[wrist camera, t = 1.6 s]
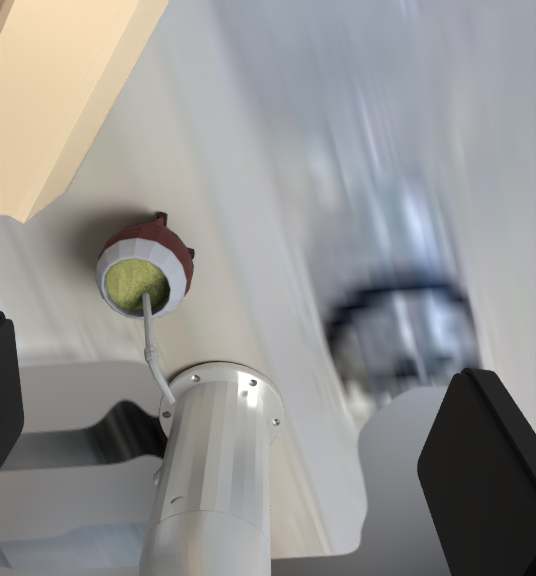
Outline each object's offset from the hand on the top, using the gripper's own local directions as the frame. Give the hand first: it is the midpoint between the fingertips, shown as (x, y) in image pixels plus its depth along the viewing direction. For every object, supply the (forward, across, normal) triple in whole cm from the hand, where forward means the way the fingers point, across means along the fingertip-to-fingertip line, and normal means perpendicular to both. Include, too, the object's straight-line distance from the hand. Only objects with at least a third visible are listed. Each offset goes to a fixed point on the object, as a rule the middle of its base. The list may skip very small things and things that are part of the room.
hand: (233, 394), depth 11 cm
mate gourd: (+31, +6, +11) cm, 33 cm away
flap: (+22, +10, -2) cm, 24 cm away
